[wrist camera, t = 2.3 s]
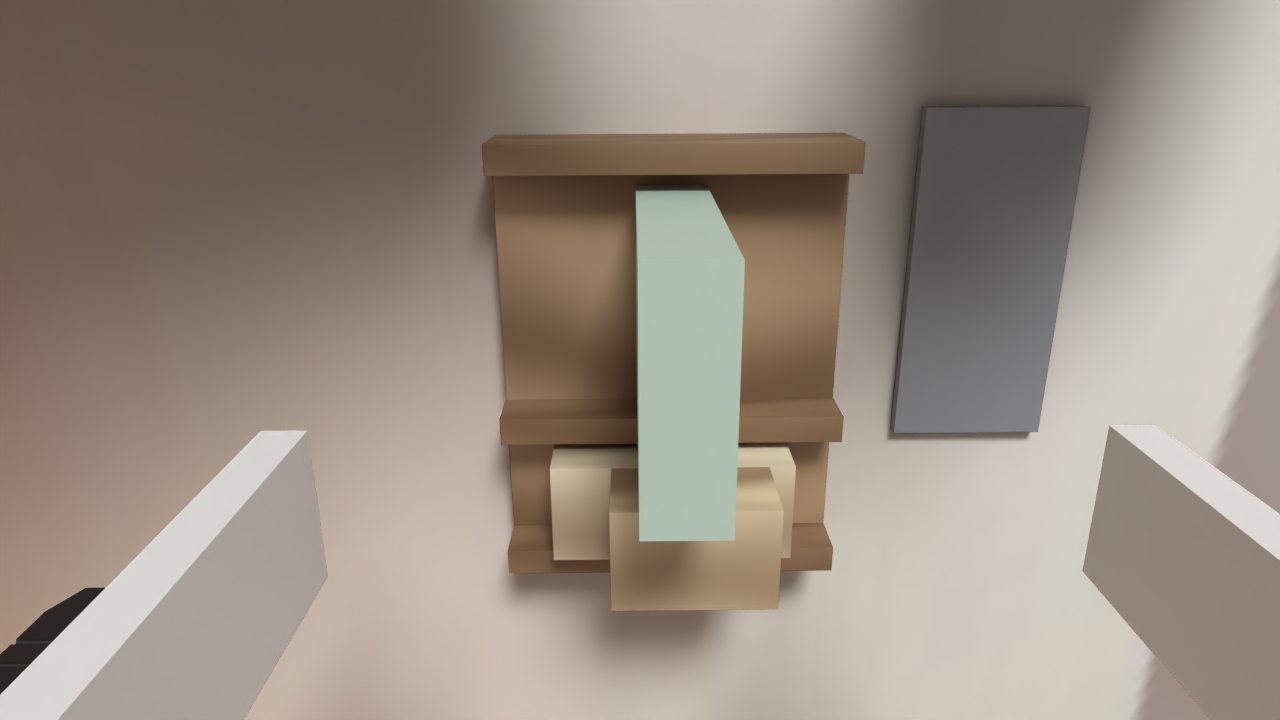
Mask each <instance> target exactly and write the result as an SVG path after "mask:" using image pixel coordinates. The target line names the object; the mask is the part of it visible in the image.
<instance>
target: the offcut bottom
mask: <svg viewBox="0 0 1280 720" xmlns="http://www.w3.org/2000/svg"><path fill="white" fill-rule="evenodd" d="M737 467H770V470H771V473H772V476H773V479H774V483H775V486H776V489H777V492H778V495H779V498H780V501H781V504H782V507H783V511H784V515H783V532H782V550H781V558H790V555H791V539H792V522H793V506H794V490H795V473H796V466H795V463H794V461H793V458H792V455H791V453H790V450H789V448H788V445H787V442H763V443H738V466H737ZM611 468H638V444H554V449H553V455H552V460H551V465H550V485H551V508H552V530H553V553H554V560H610V524H609V508H610V487H611Z"/></svg>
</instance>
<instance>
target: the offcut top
mask: <svg viewBox="0 0 1280 720" xmlns="http://www.w3.org/2000/svg"><path fill="white" fill-rule="evenodd" d="M783 515H784V511H783V507H782V504H781V501H780V498H779V495H778V492H777V489H776V486H775V483H774V479H773V476H772V473H771V470H770V467H737V494H736V522H735V541H639V488H638V468H611V487H610V508H609V524H610V576H611V611H654V610H759V609H778V602H779V585H780V567H781V550H782V532H783Z"/></svg>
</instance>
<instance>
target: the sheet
mask: <svg viewBox="0 0 1280 720" xmlns="http://www.w3.org/2000/svg"><path fill="white" fill-rule="evenodd" d="M744 273H745V259H744V257H743V255H742V253H741V251H740V249H739V247H738V245H737V243H736V242H735V240H734V238H733V236H732V234H731V232H730V230H729V228H728V226H727V224H726V222H725V220H724V218H723V216H722V214H721V212H720V210H719V208H718V206H717V204H716V202H715V200H714V198H713V196H712V194H711V192H710V190H709V188H708V186H707V185H636V315H637V420H638V488H639V541H735V522H736V494H737V466H738V439H739V411H740V384H741V356H742V328H743V301H744Z"/></svg>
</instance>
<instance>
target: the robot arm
mask: <svg viewBox="0 0 1280 720" xmlns="http://www.w3.org/2000/svg"><path fill="white" fill-rule="evenodd" d="M1083 572H1084V573H1085V574H1086V576H1087V577H1088V578H1089V579H1090V580H1091V581H1092V583H1093V584H1094V585H1095V586H1096V587H1097V588H1098V590H1099V591H1100V592H1101V593H1102V594H1103V595H1104V597H1105V598H1106V599H1107V600H1108V601H1109V602H1110V604H1111V605H1112V606H1113V607H1114V608H1115V609H1116V611H1117V612H1118V613H1119V614H1120V615H1121V616H1122V618H1123V619H1124V620H1125V621H1126V622H1127V623H1128V625H1129V626H1130V627H1131V628H1132V629H1133V630H1134V632H1135V633H1136V634H1137V635H1138V636H1139V637H1140V639H1141V640H1142V641H1143V642H1144V643H1145V644H1146V646H1147V647H1148V648H1149V649H1150V650H1151V651H1152V653H1153V654H1154V655H1155V656H1156V657H1157V658H1158V660H1159V661H1160V662H1161V663H1162V664H1163V665H1164V666H1165V668H1166V669H1167V670H1168V671H1169V672H1170V674H1171V675H1172V676H1173V677H1174V678H1175V679H1176V681H1177V682H1178V683H1179V684H1180V685H1181V686H1182V688H1183V689H1184V690H1185V691H1186V692H1187V693H1188V694H1189V696H1190V697H1191V698H1192V699H1193V700H1194V702H1195V703H1196V704H1197V705H1198V706H1199V707H1200V709H1201V710H1202V711H1203V712H1204V713H1205V714H1206V716H1207V717H1208V718H1209V719H1210V720H1280V514H1279V513H1277V512H1276V511H1275V510H1273V509H1272V508H1270V507H1269V506H1268V505H1266V504H1265V503H1263V502H1262V501H1261V500H1259V499H1258V498H1257V497H1255V496H1254V495H1252V494H1251V493H1250V492H1248V491H1247V490H1246V489H1244V488H1243V487H1241V486H1240V485H1238V484H1237V483H1236V482H1234V481H1233V480H1232V479H1230V478H1229V477H1227V476H1226V475H1225V474H1223V473H1222V472H1221V471H1219V470H1218V469H1216V468H1215V467H1214V466H1212V465H1211V464H1209V463H1208V462H1207V461H1205V460H1204V459H1203V458H1201V457H1200V456H1198V455H1197V454H1196V453H1194V452H1193V451H1191V450H1190V449H1189V448H1187V447H1186V446H1184V445H1183V444H1182V443H1180V442H1179V441H1178V440H1176V439H1175V438H1173V437H1172V436H1171V435H1169V434H1168V433H1166V432H1165V431H1164V430H1162V429H1161V428H1160V427H1158V426H1157V425H1109V431H1108V436H1107V441H1106V447H1105V452H1104V458H1103V463H1102V469H1101V474H1100V479H1099V485H1098V490H1097V496H1096V501H1095V507H1094V512H1093V517H1092V523H1091V528H1090V534H1089V539H1088V544H1087V550H1086V555H1085V561H1084V566H1083ZM327 577H328V573H327V566H326V559H325V552H324V545H323V538H322V531H321V523H320V516H319V509H318V502H317V495H316V488H315V481H314V474H313V467H312V459H311V452H310V445H309V438H308V431H260V432H259V433H258V434H257V435H256V436H255V437H254V438H253V439H252V440H251V441H250V442H249V443H248V444H247V445H246V446H245V447H244V448H243V449H242V450H241V451H240V452H239V453H238V454H237V455H236V456H235V457H234V458H233V459H232V460H231V461H230V462H229V463H228V464H227V465H226V466H225V467H224V468H223V469H222V470H221V471H220V472H219V473H218V474H217V475H216V476H215V477H214V479H213V480H212V481H211V482H210V483H209V484H208V485H207V486H206V487H205V488H204V489H203V490H202V491H201V492H200V493H199V494H198V495H197V496H196V497H195V498H194V499H193V500H192V501H191V502H190V503H189V504H188V505H187V506H186V507H185V508H184V509H183V510H182V511H181V512H180V513H179V514H178V515H177V516H176V517H175V518H174V519H173V520H172V521H171V522H170V523H169V524H168V525H167V526H166V527H165V528H164V529H163V530H162V531H161V532H160V533H159V534H158V535H157V536H156V537H155V538H154V539H153V540H152V541H151V542H150V543H149V544H148V545H147V546H146V547H145V548H144V549H143V550H142V552H141V553H140V554H139V555H138V556H137V557H136V558H135V559H134V560H133V561H132V562H131V563H130V564H129V565H128V566H127V567H126V568H125V569H124V570H123V571H122V572H121V573H120V574H119V575H118V576H117V577H116V578H115V579H114V580H113V581H112V582H111V583H110V584H109V585H108V586H107V587H106V588H85V589H83V590H82V591H80V592H78V593H76V594H75V595H73V596H71V597H70V598H68V599H66V600H64V601H63V602H61V603H59V604H58V605H56V606H54V607H52V608H51V609H49V610H47V611H46V612H44V613H43V614H42V615H41V616H40V617H39V618H38V619H37V620H36V621H35V622H34V623H33V624H32V625H31V626H30V627H29V628H28V629H27V630H26V631H24V632H23V633H22V634H21V635H20V636H19V637H18V638H17V639H16V640H17V642H16V644H15V645H10V646H9V647H8V648H7V649H6V650H5V651H3V652H2V653H1V654H0V720H244V719H245V717H246V715H247V713H248V712H249V710H250V708H251V707H252V705H253V703H254V701H255V700H256V698H257V696H258V695H259V693H260V691H261V690H262V688H263V686H264V684H265V683H266V681H267V679H268V678H269V676H270V674H271V672H272V671H273V669H274V667H275V666H276V664H277V662H278V661H279V659H280V657H281V655H282V654H283V652H284V650H285V649H286V647H287V645H288V643H289V642H290V640H291V638H292V637H293V635H294V633H295V631H296V630H297V628H298V626H299V625H300V623H301V621H302V620H303V618H304V616H305V614H306V613H307V611H308V609H309V608H310V606H311V604H312V602H313V601H314V599H315V597H316V596H317V594H318V592H319V591H320V589H321V587H322V585H323V584H324V582H325V580H326V579H327Z"/></svg>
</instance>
